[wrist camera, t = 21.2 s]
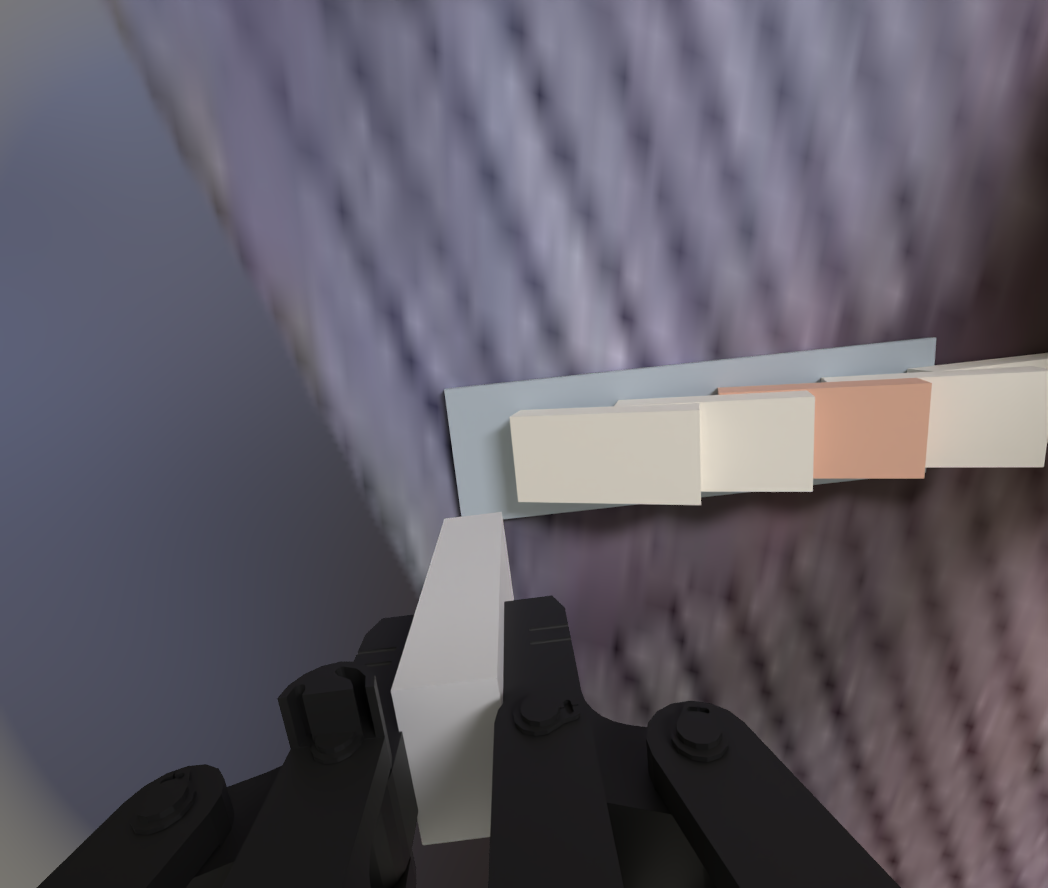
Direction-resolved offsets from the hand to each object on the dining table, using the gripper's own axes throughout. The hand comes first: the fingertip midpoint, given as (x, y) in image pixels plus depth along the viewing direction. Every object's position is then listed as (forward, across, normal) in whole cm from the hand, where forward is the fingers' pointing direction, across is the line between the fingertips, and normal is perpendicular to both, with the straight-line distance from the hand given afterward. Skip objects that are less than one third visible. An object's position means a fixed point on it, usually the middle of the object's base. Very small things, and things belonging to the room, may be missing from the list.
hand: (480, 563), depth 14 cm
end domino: (+23, -1, +3) cm, 23 cm away
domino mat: (+25, -14, +4) cm, 29 cm away
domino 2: (+23, -15, +3) cm, 28 cm away
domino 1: (+23, -8, +3) cm, 25 cm away
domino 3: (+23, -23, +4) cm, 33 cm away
